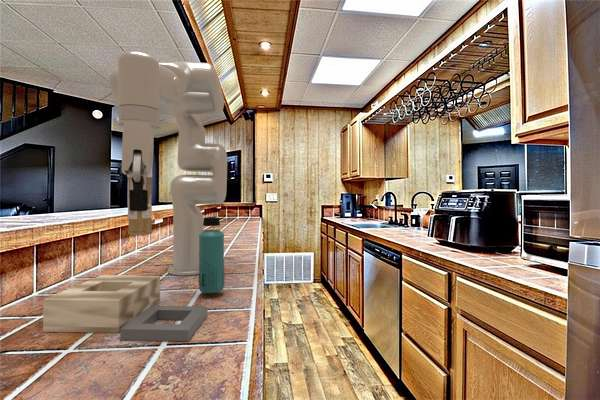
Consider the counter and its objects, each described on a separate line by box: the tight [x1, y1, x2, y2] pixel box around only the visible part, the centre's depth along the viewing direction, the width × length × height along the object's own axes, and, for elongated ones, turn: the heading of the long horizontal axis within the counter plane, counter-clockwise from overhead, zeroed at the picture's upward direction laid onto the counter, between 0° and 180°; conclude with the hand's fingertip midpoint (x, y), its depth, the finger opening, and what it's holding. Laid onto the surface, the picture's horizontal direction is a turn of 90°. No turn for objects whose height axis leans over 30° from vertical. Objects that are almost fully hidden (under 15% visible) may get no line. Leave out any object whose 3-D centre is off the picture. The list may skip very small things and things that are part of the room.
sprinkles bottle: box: [126, 168, 153, 237], centre depth 67 cm, size 5×5×14 cm
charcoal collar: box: [119, 305, 209, 342], centre depth 64 cm, size 12×12×2 cm
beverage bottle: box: [197, 216, 225, 294], centre depth 84 cm, size 6×7×20 cm
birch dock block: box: [42, 274, 161, 334], centre depth 70 cm, size 18×14×6 cm
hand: (139, 208), depth 67 cm, fingers closed on sprinkles bottle, 4 cm apart
